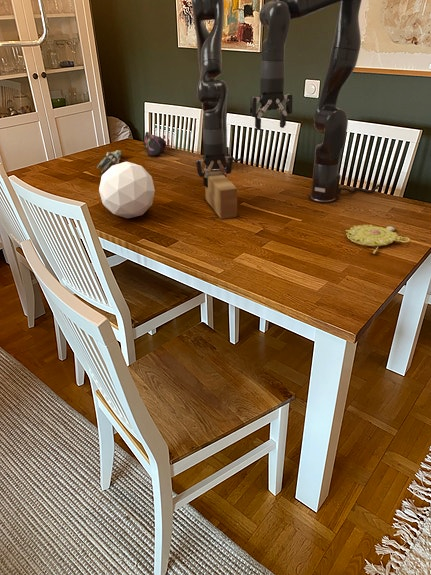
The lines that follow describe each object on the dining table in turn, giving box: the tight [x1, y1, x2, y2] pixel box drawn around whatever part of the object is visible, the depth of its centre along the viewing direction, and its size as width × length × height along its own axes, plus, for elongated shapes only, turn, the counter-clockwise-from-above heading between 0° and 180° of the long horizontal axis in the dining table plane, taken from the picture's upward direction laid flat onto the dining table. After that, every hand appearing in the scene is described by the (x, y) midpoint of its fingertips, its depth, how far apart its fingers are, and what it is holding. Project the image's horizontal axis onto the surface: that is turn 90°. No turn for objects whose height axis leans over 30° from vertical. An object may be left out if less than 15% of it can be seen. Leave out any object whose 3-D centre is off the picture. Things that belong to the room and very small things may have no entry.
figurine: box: [96, 150, 123, 174], centre depth 213 cm, size 7×8×30 cm
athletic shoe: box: [143, 131, 170, 157], centre depth 230 cm, size 11×22×12 cm
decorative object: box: [345, 223, 411, 255], centre depth 140 cm, size 21×2×20 cm
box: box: [204, 171, 238, 220], centre depth 163 cm, size 20×6×11 cm, turn 17°
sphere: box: [98, 160, 156, 220], centre depth 157 cm, size 19×20×20 cm
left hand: (214, 185), depth 169 cm, fingers closed on box, 6 cm apart
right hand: (270, 128), depth 150 cm, fingers open, 8 cm apart
